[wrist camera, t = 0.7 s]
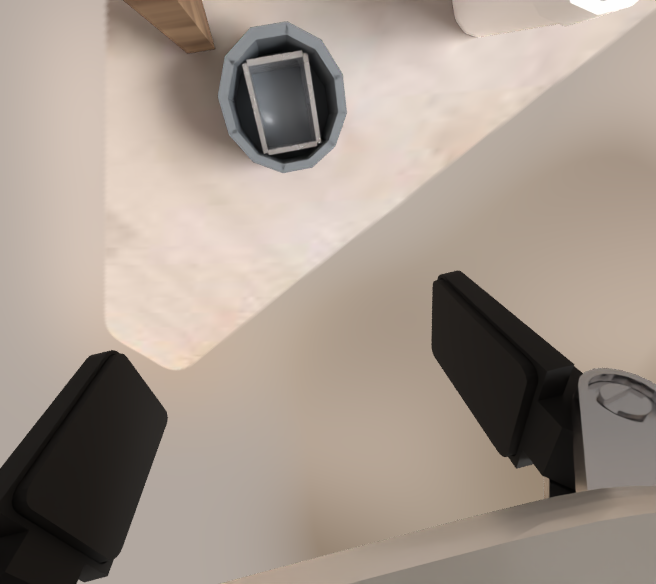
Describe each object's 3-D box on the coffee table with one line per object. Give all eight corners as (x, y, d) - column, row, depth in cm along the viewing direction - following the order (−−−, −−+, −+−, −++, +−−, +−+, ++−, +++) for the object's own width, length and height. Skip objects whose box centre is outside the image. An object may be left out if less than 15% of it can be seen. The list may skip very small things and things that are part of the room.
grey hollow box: (245, 69, 26) (241, 60, 23) (303, 59, 26) (307, 49, 23) (265, 152, 30) (264, 156, 26) (316, 143, 30) (321, 145, 26)
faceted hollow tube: (215, 54, 26) (200, 35, 21) (324, 35, 26) (336, 13, 21) (248, 171, 31) (242, 180, 26) (339, 154, 31) (351, 159, 26)
